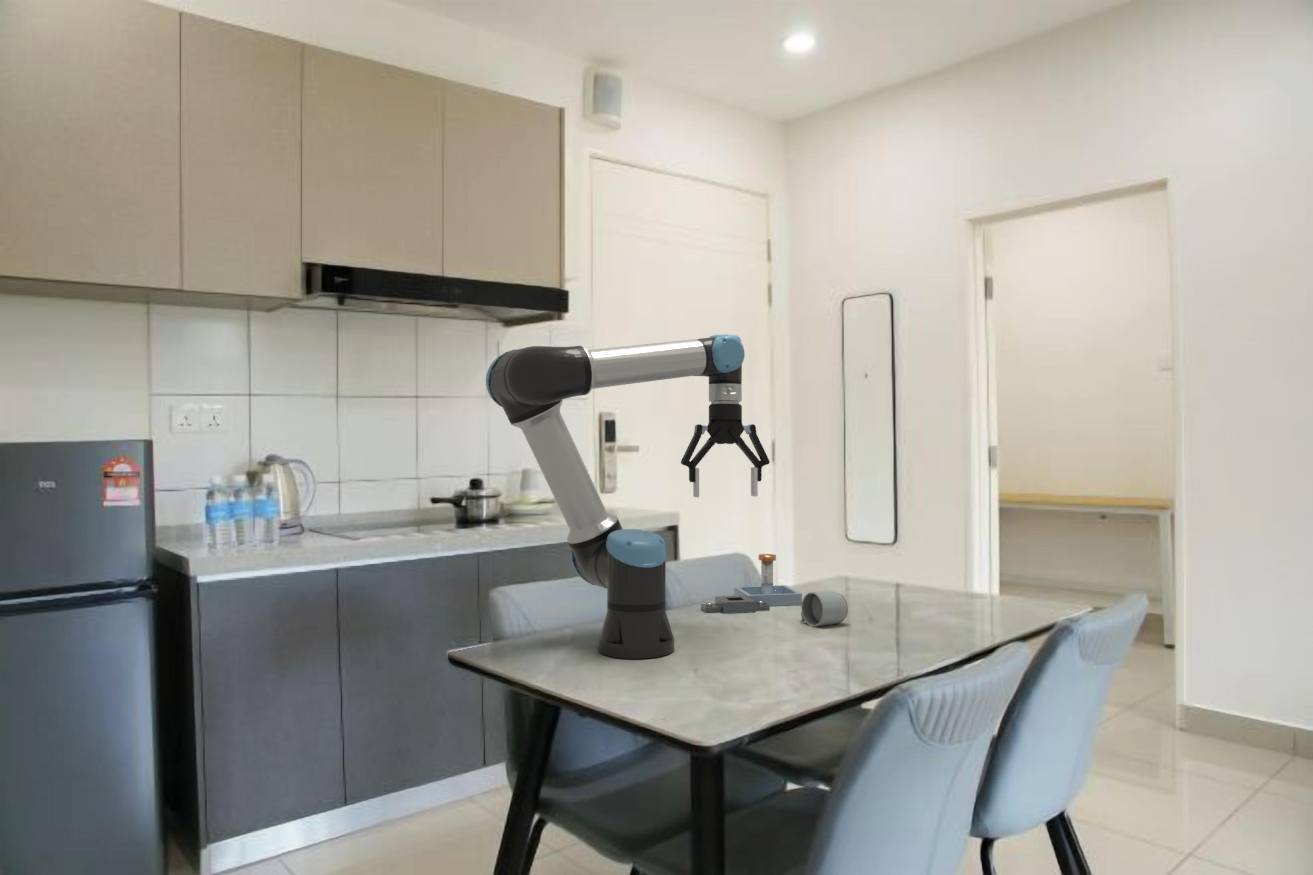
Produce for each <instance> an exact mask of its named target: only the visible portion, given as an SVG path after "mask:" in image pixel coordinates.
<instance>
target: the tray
mask: <svg viewBox="0 0 1313 875" xmlns="http://www.w3.org/2000/svg"><path fill="white" fill-rule="evenodd" d="M733 588H734V591H733V593H734V595H733V596H745V595H746V596H748V597H749V598H751V599H753V600H754V601H755V602H757V601H764V602H765V603H767V604H768V605H770V607H779V606H780V607H784V606H786V607H787V606H802V601H803V593H801V592H799V591H797V590H796V589H794V588H792V587H790V586H789V585H785V584H779V585H777V584H776V585H773V594H762V595H761V585H750V586H748V585H747V586H734V587H733ZM775 590H776V591H775Z"/></svg>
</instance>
